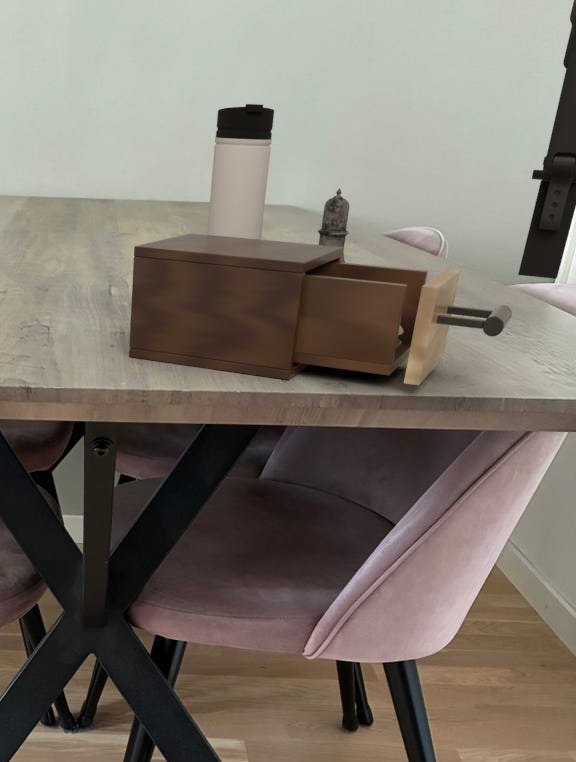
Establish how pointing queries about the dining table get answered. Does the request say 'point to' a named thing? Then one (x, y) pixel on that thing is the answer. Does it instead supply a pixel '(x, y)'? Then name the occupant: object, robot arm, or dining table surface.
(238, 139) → the travel mug
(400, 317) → the drawer
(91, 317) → the dining table surface
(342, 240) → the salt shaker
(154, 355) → the cabinet
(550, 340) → the dining table surface
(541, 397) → the dining table surface
